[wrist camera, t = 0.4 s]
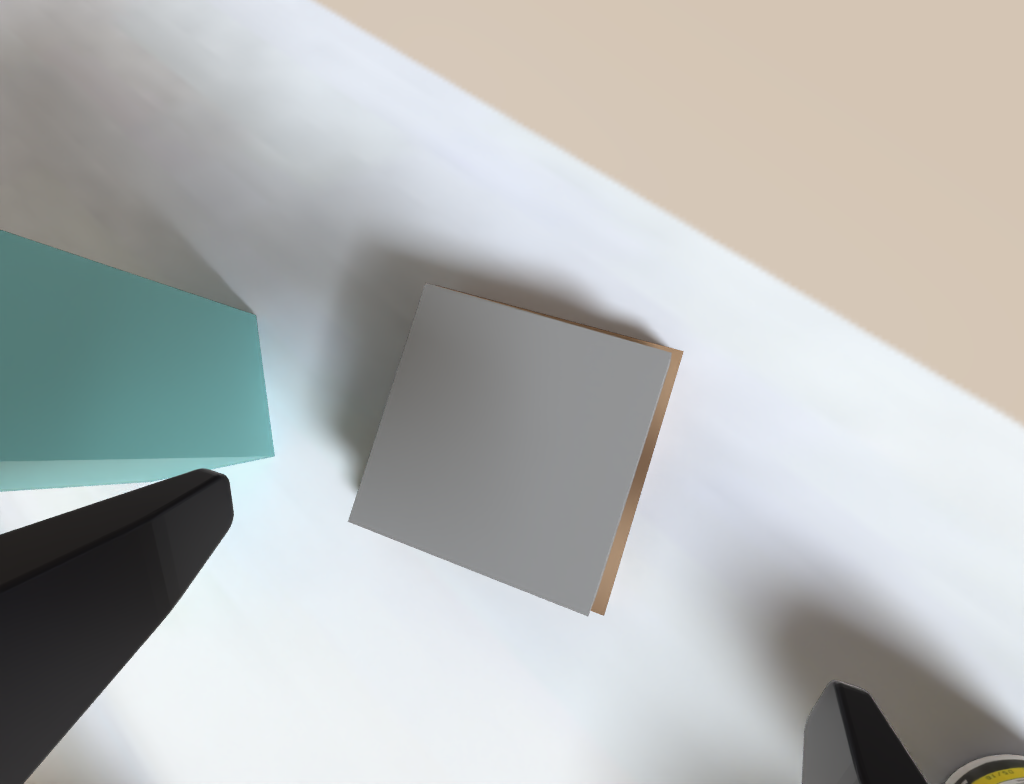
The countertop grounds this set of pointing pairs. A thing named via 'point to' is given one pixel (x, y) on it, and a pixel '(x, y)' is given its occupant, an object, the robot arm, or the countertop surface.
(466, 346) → the tower top
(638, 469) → the tower base
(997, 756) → the supplement bottle
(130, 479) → the column
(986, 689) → the countertop surface
